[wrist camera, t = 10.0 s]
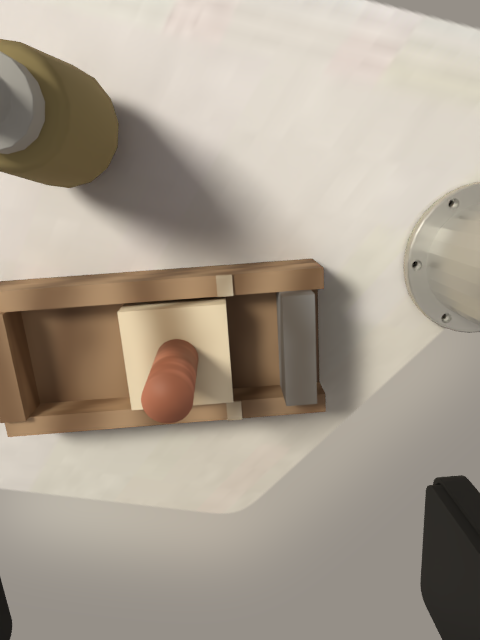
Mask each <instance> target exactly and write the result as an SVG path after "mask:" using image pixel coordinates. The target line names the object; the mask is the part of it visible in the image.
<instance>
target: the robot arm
mask: <svg viewBox="0 0 480 640" xmlns="http://www.w3.org/2000/svg"><path fill="white" fill-rule="evenodd" d="M449 201H451V205H450V206H449V205H448V204H449ZM414 261H415V263H416V264H415V266H413V267H412V264H413V262H414ZM404 277H405V283H406V286H407V289H408V292H409V295H410V297H411V298H412V300H413V302H414V304H415V305H416V306H417V308H418V309H419V310H420V311H421V312H422V313H423V314H424V315H425V316H427V317H428V318H429V319H431V320H432V321H434V322H435V323H437V324H439V325H440V326H442V327H445V328H448V329H451V330H454V331H460V332H469V333H470V332H480V182H478V183H473V184H469V185H465V186H462V187H459V188H457V189H455V190H453V191H451V192H449V193H447V194H446V195H444V196H443V197H442V198H440V199H439V200H437V201H436V202H435V203H434V204H433V205H432V206H431V207H430V208H429V209H428V210H427V211H426V212H425V213H424V214H423V215H422V217H421V218H420V220H419V221H418V222H417V224H416V225H415V227H414V229H413V231H412V233H411V236H410V238H409V240H408V244H407V247H406V251H405V256H404ZM443 315H444V317H443V318H442V316H443ZM424 517H425V518H424V533H423V551H422V568H421V592H422V596H423V600H424V602H425V605H426V607H427V609H428V611H429V613H430V615H431V617H432V619H433V621H434V623H435V625H436V628H437V629H438V632H439V634H440V635H441V638H442V640H480V493H479V492H478V490H477V489H476V488H475V487H474V486H473V485H472V483H471V482H470V481H469V480H468V479H467V478H466V477H465V476H450V477H439V478H436V479H435V480H434V482H433V485H429V486H427V488H426V499H425V516H424ZM11 632H12V619H11V615H10V612H9V608H8V604H7V600H6V597H5V593H4V590H3V586H2V582H1V578H0V640H10V637H11Z"/></svg>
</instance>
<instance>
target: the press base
mask: <svg viewBox="0 0 480 640" xmlns="http://www.w3.org/2000/svg"><path fill="white" fill-rule="evenodd" d="M318 289H324V268H323V267H322V266H321V265H319V264H318V263H317V262H316V261H314V260H313V259H302V260H288V261H275V262H261V263H247V264H233V265H219V266H206V267H192V268H178V269H164V270H151V271H137V272H123V273H109V274H96V275H82V276H68V277H54V278H40V279H27V280H13V281H1V282H0V423H5V426H6V430H7V435H8V437H13V436H26V435H39V434H51V433H64V432H76V431H89V430H101V429H114V428H126V427H139V426H151V425H164V424H176V423H189V422H201V421H214V420H226V419H228V421H229V420H241V419H242V418H251V417H264V416H276V415H289V414H302V413H314V412H326V407H325V392H324V390H323V388H322V386H321V384H320V382H319V343H318ZM225 296H226V309H227V322H228V335H229V348H230V361H231V374H232V388H233V402H231V403H218V404H206V405H193V406H192V409H191V411H190V413H189V414H188V415H187V416H186V417H185V418H184V419H182V420H180V421H178V422H175V423H160V422H157V421H155V420H153V419H152V418H150V417H149V416H148V415H147V414H146V413H145V411H144V409H143V410H132V409H131V402H130V395H129V388H128V382H127V375H126V368H125V361H124V355H123V348H122V341H121V334H120V327H119V321H118V314H117V312H118V311H119V310H120V308H121V307H122V306H123V305H124V303H136V302H149V301H163V300H176V299H190V298H203V297H225Z"/></svg>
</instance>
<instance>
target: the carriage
mask: <svg viewBox="0 0 480 640" xmlns="http://www.w3.org/2000/svg"><path fill="white" fill-rule="evenodd" d="M117 314H118V321H119V327H120V334H121V341H122V348H123V355H124V361H125V368H126V375H127V382H128V388H129V395H130V402H131V409H132V410H143V409H144V411H145V413H146V414H147V415H148V416H149V417H150V418H152V419H153V420H155V421H157V422H160V423H175V422H178V421H180V420H182V419H184V418H185V417H186V416H187V415H188V414H189V413H190V411H191V409H192V406H193V405H206V404H218V403H231V402H233V388H232V374H231V361H230V348H229V335H228V322H227V309H226V296H225V297H203V298H190V299H176V300H163V301H149V302H136V303H124V305H123V306H122V307H121V308H120V310H119V311H118V312H117Z"/></svg>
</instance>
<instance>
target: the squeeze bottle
mask: <svg viewBox="0 0 480 640" xmlns="http://www.w3.org/2000/svg"><path fill="white" fill-rule="evenodd" d="M118 126H119V123H118V120H117V117H116V114H115V110H114V107H113V104H112V101H111V99H110V97H109V96H108V95H107V94H106V92H105V91H104V90H103V88H102V87H101V86H100V85H99V83H98V82H97V81H96V79H95V78H93V77H91V76H90V75H88V74H86V73H85V72H83V71H81V70H80V69H78V68H77V67H75V66H73V65H71V64H69V63H66V62H64V61H62V60H60V59H57V58H55V57H53V56H51V55H48V54H46V53H44V52H42V51H39V50H37V49H35V48H33V47H30V46H28V45H26V44H24V43H21V42H16V41H9V40H3V39H0V171H1V172H4V173H8V174H11V175H15V176H18V177H21V178H25V179H28V180H32V181H35V182H39V183H42V184H46V185H51V186H59V187H66V188H72V187H75V186H79V185H82V184H86V183H89V182H92V181H93V180H94V179H95V178H96V177H97V176H99V175H100V174H101V173H102V172H103V171H105V170H106V169H107V168H108V166H109V164H110V162H111V160H112V158H113V155H114V153H115V151H116V149H117V144H118Z"/></svg>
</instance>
